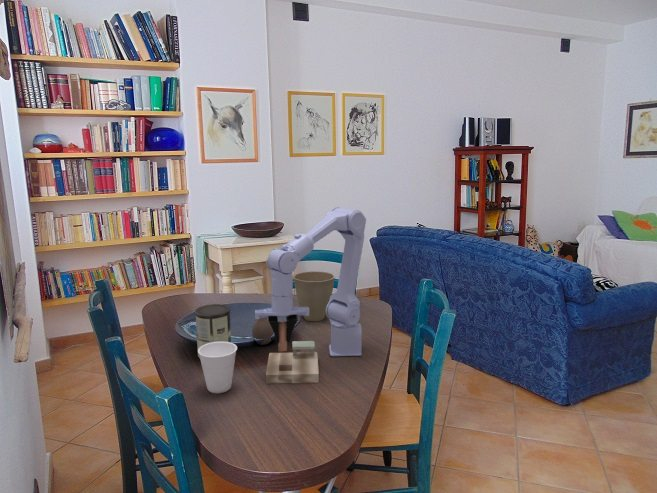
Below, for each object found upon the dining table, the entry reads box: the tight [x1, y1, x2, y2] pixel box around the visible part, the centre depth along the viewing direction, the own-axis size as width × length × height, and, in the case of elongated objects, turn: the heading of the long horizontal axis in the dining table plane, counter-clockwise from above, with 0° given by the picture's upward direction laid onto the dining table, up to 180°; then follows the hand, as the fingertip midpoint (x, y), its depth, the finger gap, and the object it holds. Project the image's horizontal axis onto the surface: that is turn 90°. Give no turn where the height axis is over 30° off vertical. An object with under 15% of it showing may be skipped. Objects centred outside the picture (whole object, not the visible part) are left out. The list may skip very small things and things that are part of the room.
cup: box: [197, 341, 238, 394], centre depth 127 cm, size 10×10×11 cm
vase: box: [251, 318, 275, 346], centre depth 157 cm, size 7×7×9 cm
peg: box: [277, 320, 288, 353], centre depth 135 cm, size 2×2×8 cm
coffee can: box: [194, 303, 232, 359], centre depth 148 cm, size 10×10×14 cm
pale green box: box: [291, 340, 316, 356], centre depth 142 cm, size 6×4×6 cm, turn 93°
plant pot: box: [293, 270, 336, 322], centre depth 179 cm, size 15×15×16 cm
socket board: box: [265, 351, 320, 385], centre depth 138 cm, size 14×14×2 cm
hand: (282, 341), depth 135 cm, fingers closed on peg, 2 cm apart
